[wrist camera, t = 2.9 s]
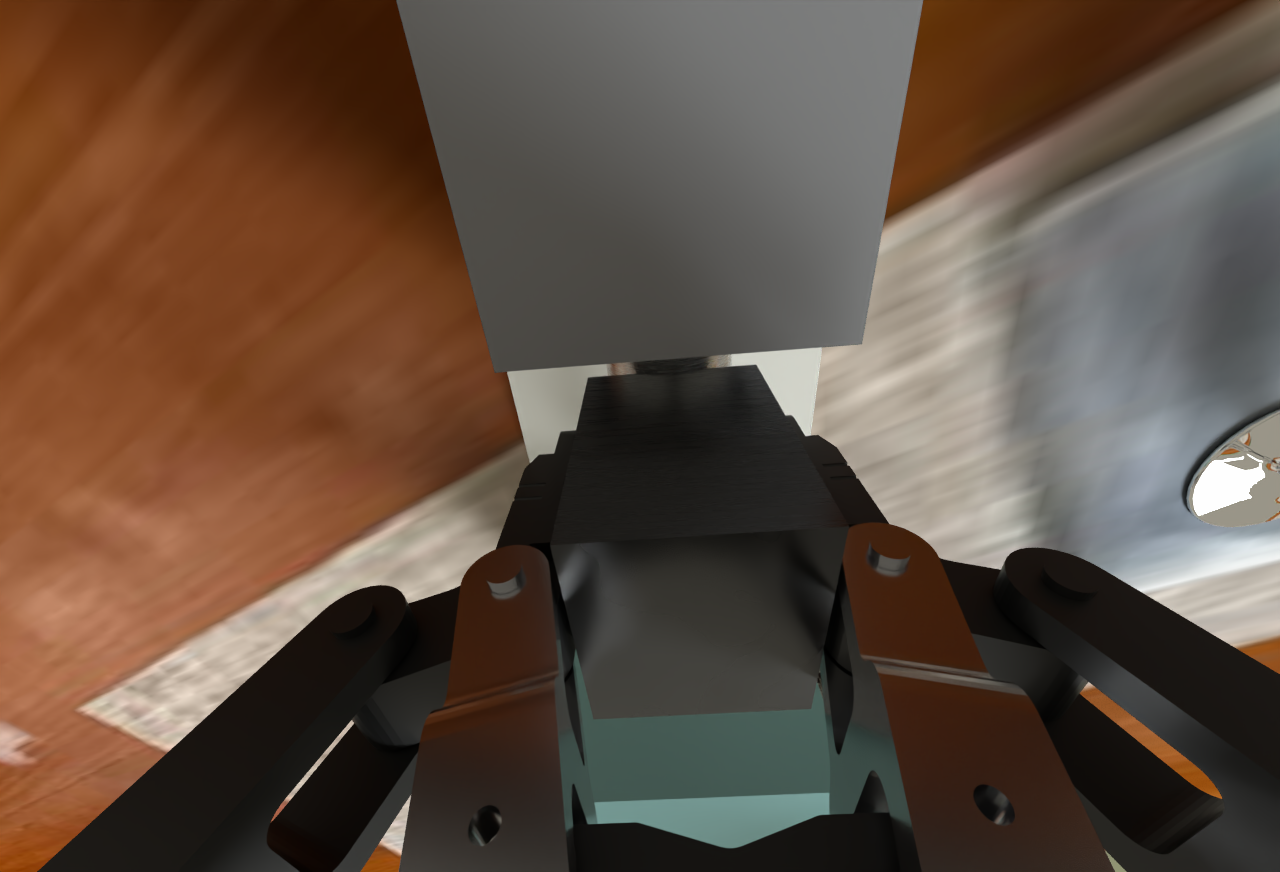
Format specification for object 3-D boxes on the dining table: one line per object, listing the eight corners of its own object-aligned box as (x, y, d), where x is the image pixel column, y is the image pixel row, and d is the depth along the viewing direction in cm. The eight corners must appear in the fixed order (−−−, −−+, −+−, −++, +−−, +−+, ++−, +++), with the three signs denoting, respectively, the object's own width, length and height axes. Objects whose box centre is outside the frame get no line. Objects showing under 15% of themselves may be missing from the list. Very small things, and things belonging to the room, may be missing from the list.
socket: (581, 545, 22) (543, 804, 13) (766, 533, 22) (854, 791, 13) (594, 609, 25) (569, 864, 16) (760, 600, 25) (831, 854, 16)
